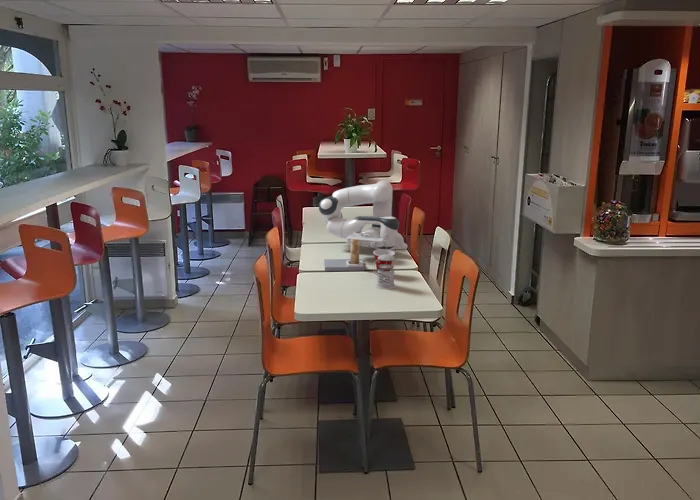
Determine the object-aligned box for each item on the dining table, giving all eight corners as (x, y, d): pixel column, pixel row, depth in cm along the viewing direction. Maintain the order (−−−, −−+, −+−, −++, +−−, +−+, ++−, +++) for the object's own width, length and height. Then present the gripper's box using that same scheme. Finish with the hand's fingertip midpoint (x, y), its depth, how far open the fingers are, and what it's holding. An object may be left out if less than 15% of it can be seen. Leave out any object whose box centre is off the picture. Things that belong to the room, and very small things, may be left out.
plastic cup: (379, 279, 284) (380, 255, 281) (368, 273, 293) (369, 250, 290) (398, 276, 289) (399, 252, 286) (387, 271, 298) (387, 248, 295)
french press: (390, 290, 266) (391, 237, 260) (368, 286, 272) (368, 234, 266) (399, 285, 274) (401, 233, 268) (378, 281, 280) (379, 230, 274)
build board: (361, 262, 314) (361, 257, 313) (364, 270, 299) (364, 264, 298) (324, 262, 313) (324, 257, 312) (324, 271, 297) (324, 265, 297)
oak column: (357, 262, 305) (357, 238, 302) (360, 265, 301) (360, 240, 298) (349, 263, 303) (349, 239, 300) (352, 265, 299) (352, 241, 296)
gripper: (386, 246, 320) (380, 252, 307) (350, 242, 326) (343, 248, 313) (386, 235, 319) (380, 240, 306) (351, 231, 324) (343, 237, 312)
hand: (361, 244), depth 310 cm, fingers open, 8 cm apart
